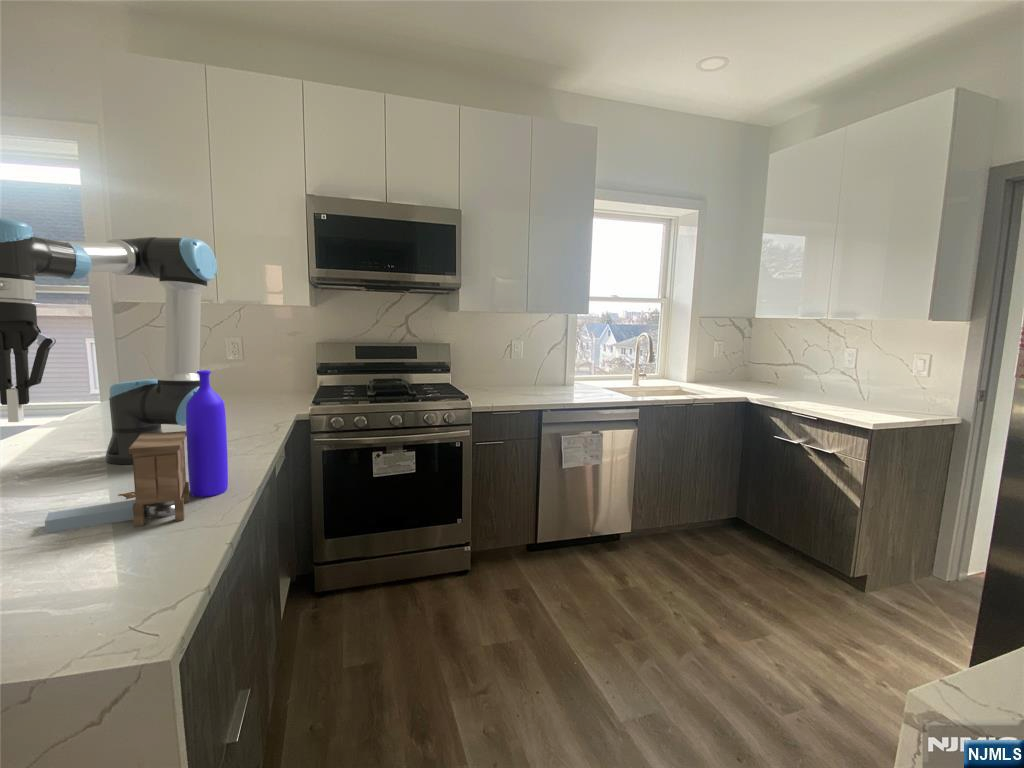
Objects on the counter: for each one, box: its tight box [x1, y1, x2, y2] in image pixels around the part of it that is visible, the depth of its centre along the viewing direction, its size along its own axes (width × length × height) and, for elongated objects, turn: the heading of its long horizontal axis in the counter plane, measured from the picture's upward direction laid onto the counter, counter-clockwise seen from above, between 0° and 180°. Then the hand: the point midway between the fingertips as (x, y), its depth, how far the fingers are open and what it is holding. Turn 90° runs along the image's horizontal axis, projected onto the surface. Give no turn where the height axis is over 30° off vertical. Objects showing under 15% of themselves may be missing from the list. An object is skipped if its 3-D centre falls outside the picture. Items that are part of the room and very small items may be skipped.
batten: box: [44, 499, 136, 535], centre depth 103 cm, size 5×15×3 cm, turn 127°
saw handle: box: [117, 491, 135, 500], centre depth 126 cm, size 24×5×1 cm, turn 142°
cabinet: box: [129, 430, 190, 528], centre depth 107 cm, size 14×8×16 cm, turn 28°
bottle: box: [185, 369, 229, 498], centre depth 120 cm, size 8×8×30 cm
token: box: [145, 501, 175, 519], centre depth 108 cm, size 6×6×2 cm
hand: (16, 420), depth 98 cm, fingers closed
